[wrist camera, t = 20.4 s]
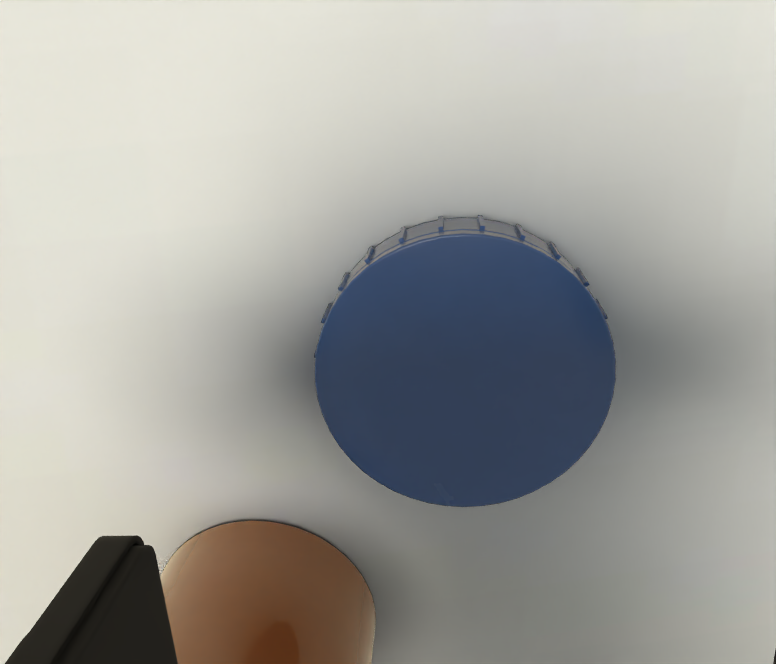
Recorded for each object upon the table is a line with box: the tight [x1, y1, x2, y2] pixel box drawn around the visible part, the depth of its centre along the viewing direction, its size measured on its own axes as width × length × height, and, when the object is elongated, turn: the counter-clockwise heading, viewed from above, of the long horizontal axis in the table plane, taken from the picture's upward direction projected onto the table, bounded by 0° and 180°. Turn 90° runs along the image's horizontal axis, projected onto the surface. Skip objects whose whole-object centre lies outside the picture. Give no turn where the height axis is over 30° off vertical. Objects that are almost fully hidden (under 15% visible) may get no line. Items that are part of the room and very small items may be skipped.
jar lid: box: [314, 215, 616, 507], centre depth 17 cm, size 7×7×2 cm
